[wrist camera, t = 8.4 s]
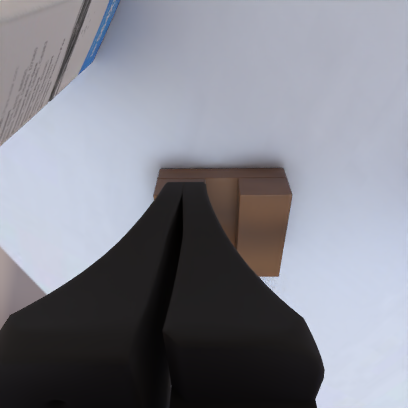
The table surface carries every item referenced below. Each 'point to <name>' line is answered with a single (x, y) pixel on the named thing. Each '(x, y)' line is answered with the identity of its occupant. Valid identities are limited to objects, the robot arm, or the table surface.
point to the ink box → (45, 52)
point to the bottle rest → (245, 209)
